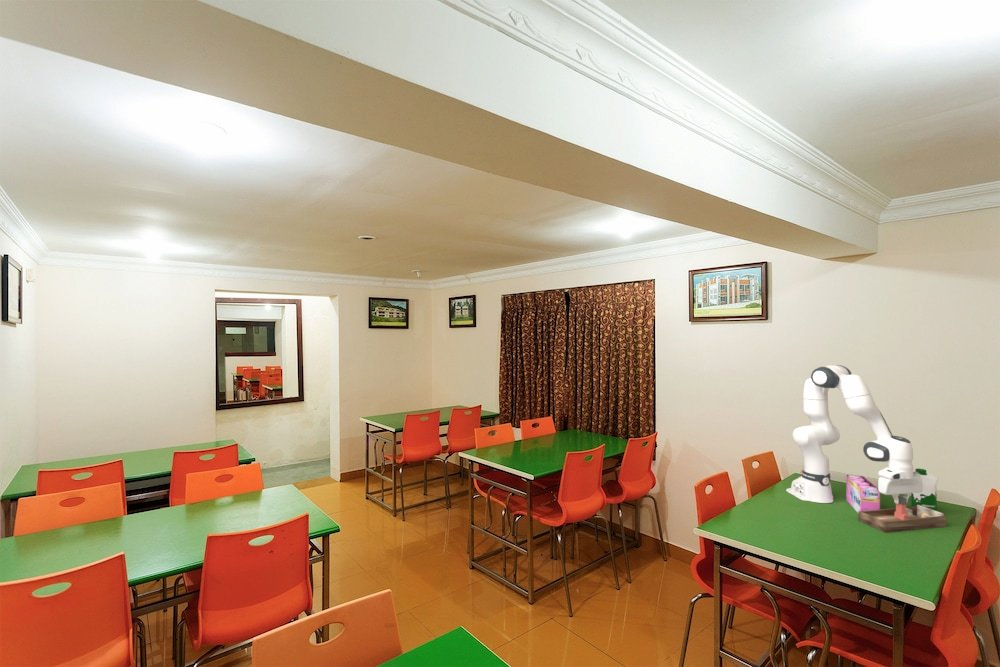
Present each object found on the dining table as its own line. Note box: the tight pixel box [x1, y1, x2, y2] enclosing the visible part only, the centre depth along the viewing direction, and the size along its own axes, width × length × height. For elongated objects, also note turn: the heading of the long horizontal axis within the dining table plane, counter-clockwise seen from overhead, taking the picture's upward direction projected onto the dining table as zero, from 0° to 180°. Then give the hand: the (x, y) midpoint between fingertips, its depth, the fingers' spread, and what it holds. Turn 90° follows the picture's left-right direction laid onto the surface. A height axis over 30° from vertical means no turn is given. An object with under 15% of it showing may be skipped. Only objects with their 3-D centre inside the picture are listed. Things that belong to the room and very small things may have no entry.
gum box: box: [845, 474, 881, 513], centre depth 236 cm, size 24×8×14 cm, turn 159°
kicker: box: [894, 495, 908, 520], centre depth 217 cm, size 4×2×10 cm, turn 9°
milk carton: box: [910, 468, 939, 511], centre depth 230 cm, size 9×9×20 cm
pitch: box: [857, 505, 947, 533], centre depth 217 cm, size 13×32×6 cm, turn 99°
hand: (900, 502), depth 217 cm, fingers closed on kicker, 2 cm apart
